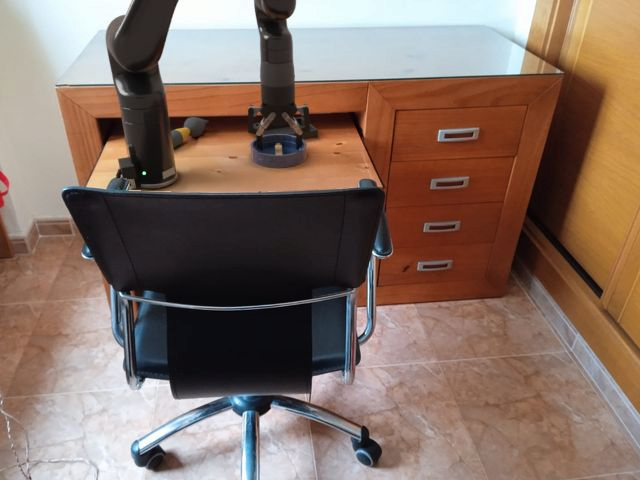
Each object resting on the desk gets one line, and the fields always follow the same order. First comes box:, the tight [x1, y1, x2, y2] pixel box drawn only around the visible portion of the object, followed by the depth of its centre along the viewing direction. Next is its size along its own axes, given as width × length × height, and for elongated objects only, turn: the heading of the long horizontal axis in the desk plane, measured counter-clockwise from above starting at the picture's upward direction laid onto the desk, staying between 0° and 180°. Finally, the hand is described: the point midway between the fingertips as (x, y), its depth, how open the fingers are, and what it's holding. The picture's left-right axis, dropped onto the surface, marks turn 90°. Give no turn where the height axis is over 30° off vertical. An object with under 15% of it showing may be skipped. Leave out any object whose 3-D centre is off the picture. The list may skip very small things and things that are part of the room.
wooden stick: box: [275, 143, 282, 155], centre depth 128 cm, size 10×2×2 cm, turn 5°
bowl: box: [249, 134, 308, 169], centre depth 127 cm, size 13×13×4 cm
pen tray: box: [254, 116, 319, 141], centre depth 139 cm, size 14×10×2 cm
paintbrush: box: [171, 116, 210, 149], centre depth 133 cm, size 20×5×5 cm, turn 155°
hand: (279, 148), depth 127 cm, fingers open, 8 cm apart
